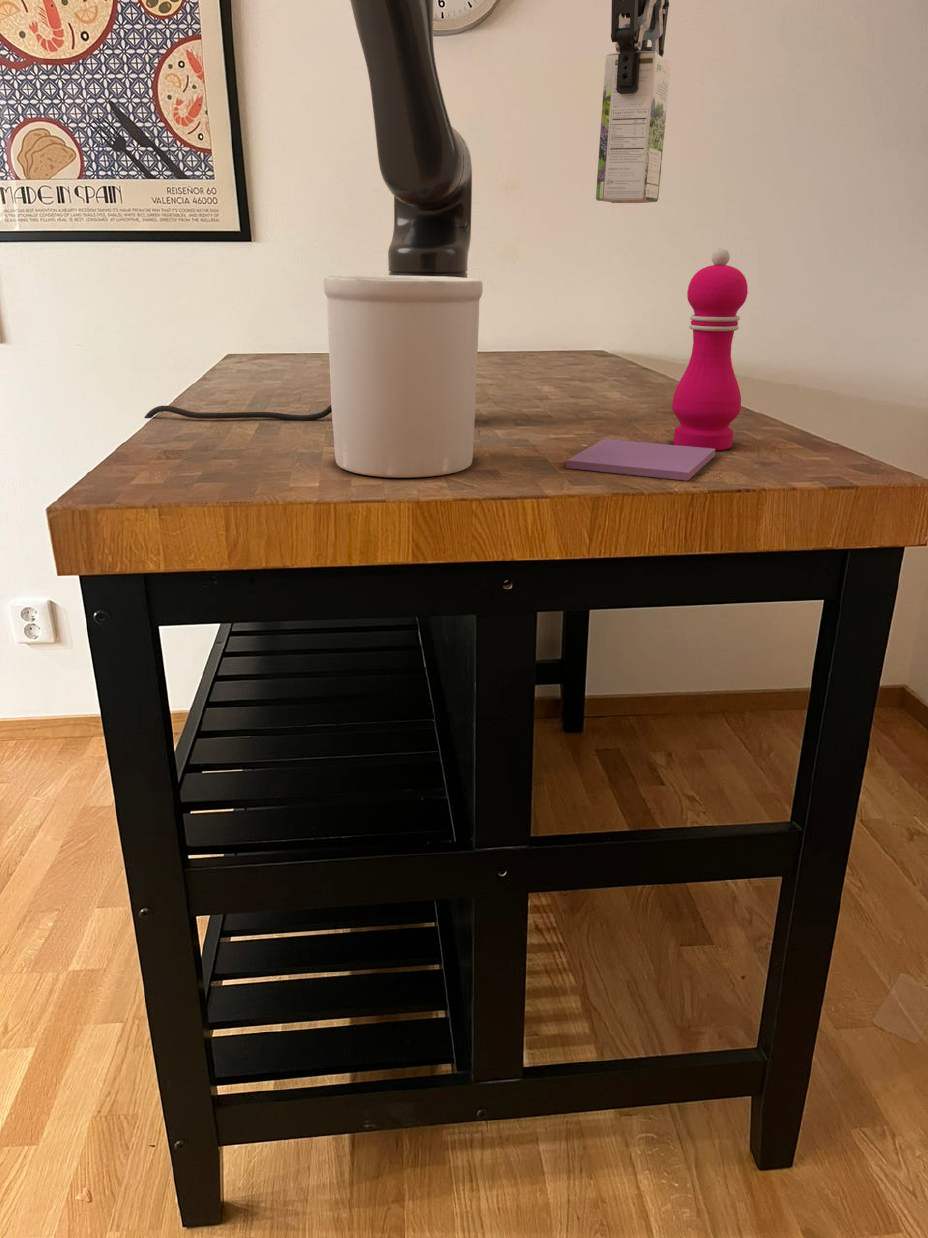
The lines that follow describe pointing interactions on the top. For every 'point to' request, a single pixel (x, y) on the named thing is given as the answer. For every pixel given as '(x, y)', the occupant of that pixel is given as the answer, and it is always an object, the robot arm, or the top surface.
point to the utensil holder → (403, 372)
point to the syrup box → (633, 132)
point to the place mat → (642, 459)
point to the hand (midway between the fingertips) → (634, 96)
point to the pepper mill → (711, 358)
